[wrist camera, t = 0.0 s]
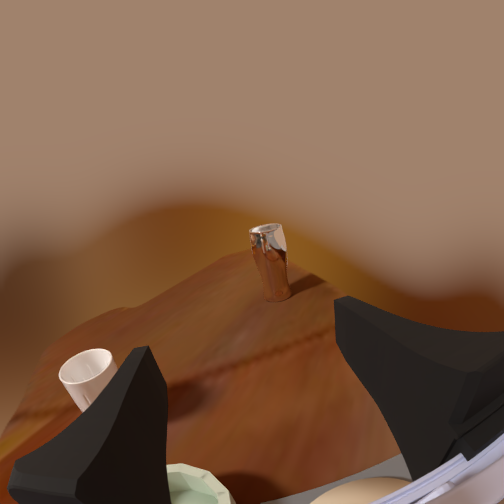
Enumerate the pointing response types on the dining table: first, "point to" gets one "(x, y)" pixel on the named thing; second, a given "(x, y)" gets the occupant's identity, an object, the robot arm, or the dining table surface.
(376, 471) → the mat
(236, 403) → the dining table surface
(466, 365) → the robot arm
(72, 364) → the white cup
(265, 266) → the beer glass
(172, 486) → the bowl
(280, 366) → the dining table surface
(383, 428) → the dining table surface
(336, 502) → the lid
